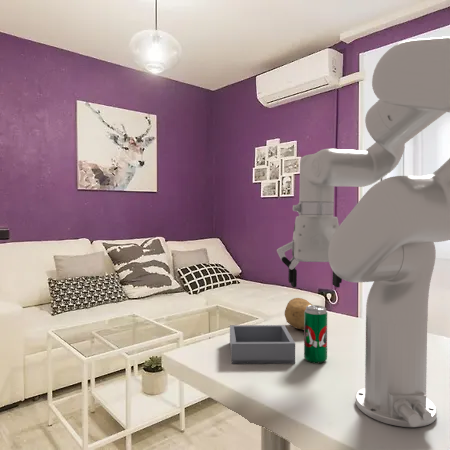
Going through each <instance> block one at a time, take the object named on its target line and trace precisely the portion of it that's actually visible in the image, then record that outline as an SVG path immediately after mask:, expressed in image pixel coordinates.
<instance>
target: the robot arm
mask: <svg viewBox="0 0 450 450" xmlns="http://www.w3.org/2000/svg"><path fill="white" fill-rule="evenodd" d="M371 86H372V90H373V93H374V95H375V96H376V98H377V99H378V100H377V102H375V103H374V104H373V105H372V106H371V107H370V108H369V109H368V110H367V113H366V115H365V119H364V121H365V127H366V130H367V132H368V134H369V135H370V137H371V139H372V140H373V141H375V142H374V143H373V144H372V145H370V147H368V148H366V149H364V150H359V149H357V150H356V149H343V148H342V149H340V148H339V149H337V148H324V149H321V150H319V151H317V152H316V153H313V154H312V153H311V154H306V155H304V156H303V155H302V157H301V159H300V161H299V198H298V200H299V202H298V203H297V204H292V211H293V212H297V213H298V216H295V220H294V227H293V234H292V240H291V241H290V242H287V243H286V244H284V245H282V246H280V247H279V248H277V249H276V252H277V253H276V254H278V257H279V259H280V261H281V262H282V263H283V264H284V265H285V266H286V267H287V268H288V277H287V278H288V280H287V281H288V283H289V284H290V286H291V287H292V288H296V287H297V283H298V282H297V281H298V280H297V276H298V275H297V274H298V271H297V268H296V267H297V266H298V264H300V262H305V263H306V262H307V263H311V262H312V263H328V264H329V266H330V268H331V270H332V285H333V286H334V287H336V288H340V286H341V285H340V284H342V281H343V280H344V281H345V282H349V283H371V282H373V283H372V285H371V288H370V289H369V292H368V295H367V298H366V305H365V307H366V308H365V354H364V355H365V361H364V362H365V364H364V366H365V369H364V370H365V374H364V375H365V376H364V378H365V379H364V382H365V383H364V384H365V385H364V387H362V388H360V389H359V390H358V391H357V392H356V393H355V404H356V406H357V408H358V409H359V410H360V411H361V412H362V413H363V414H365V415H366V416H367V417H370V418H371V419H374V420H375V421H378V422H381V423H384V424H387V425H392V426H396V427H402V428H403V427H404V428H420V427H426V426H428V425H430V424H433V423H434V422H435V421H436V419H437V415H438V414H437V412H438V411H437V407H436V405H435V404H434V403H433V401H431V400H430V399H429V398H428V397H427V370H428V369H427V365H428V359H427V358H428V321H429V319H428V318H429V317H428V315H429V298H430V297H429V296H430V295H429V293H430V286H431V282H432V281H431V280H432V276H433V273H434V268H435V264H436V246H435V245H436V244H435V243H440V242H447V241H450V157H449V158H448V159H447V160H446V161H445V162H444V163H443V164H442V165H440V167H439V168H438V169H436V170H434V172H433V173H431V174H430V173H429V174H426V175H396V176H390V177H387V178H384V177H385V176H387V175H388V174H390V173H391V172H392V171H394V170H395V168H397V166H398V165H399V163H400V161H401V160H402V157H403V155H404V152H405V145H406V144H407V143H408V142H409V141H410V140H411V139H413V138H414V137H417V135H418V134H419V133H421V132H422V131H423V130H425V129H427V127H429V126H430V125H431V124H433V123H434V122H435V121H437V120H438V119H440V118H441V117H443V115H444V114H446V113H450V36H442V37H430V38H429V37H428V38H417V39H409V40H404V41H402V42H399V43H397V44H395V45H393V46H391V47H390V48H389V49H388V50H387V51H386V52H385V53H384V54H383V55H382V56H381V58H379V60H378V61H377V63H376V66H375V68H374V70H373V74H372V79H371ZM382 178H384V179H382ZM378 181H379V182H378ZM375 183H376V184H375ZM372 184H374V185H372ZM371 185H372V187H370V188H369V189H368V190H367V192H365V194H363V195H362V197H361V198H360V199H359V201H358V202H357V203H356V205H355V206H354V207H353V208H352V210H351V211H350V212H349V213H348V214H347V215H346V217H345V218H344V219H343V221H342V222H341V223H340V225H339V219H338V216H334V214H335V213H334V209H335V208H334V207H335V187H349V188H350V187H353V188H354V187H356V188H357V187H358V188H364V187H367V186H371ZM290 250H291V255H292V258H291V259H288V258H287V256H286V252H288V251H290Z"/></svg>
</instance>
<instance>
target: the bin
mask: <svg viewBox="0 0 450 450" xmlns="http://www.w3.org/2000/svg"><path fill="white" fill-rule="evenodd" d="M229 348H230V359H231V364H232V365H253V364H254V365H262V364H263V365H267V364H268V365H270V364H271V365H275V364H276V365H279V364H280V365H281V364H283V365H285V364H286V365H289V364H290V365H291V364H292V365H293V364H296V341H295V340H294V339H293V337H292V336H291V333H290V332H289V330H288V328H287V327H286V325H285V324H266V325H265V324H259V325H257V324H254V325H253V324H252V325H251V324H250V325H249V324H248V325H247V324H246V325H245V324H244V325H242V324H241V325H238V324H235V325H232V324H231V325H229Z"/></svg>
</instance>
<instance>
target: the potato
mask: <svg viewBox="0 0 450 450" xmlns="http://www.w3.org/2000/svg"><path fill="white" fill-rule="evenodd" d="M310 305H313V304H312V303H310V302H309V301H308V300H307V299H305V298H303V297H302V298H301V297H294V298H292V299H290V300H289V301H288V302H287V304H286V305H285V309H284V318H285V320H286V323H288V324H289V325H290V326H291V327H293V328H294V329H298V330H303V331H304V311H305V310H306V307H307V306H310Z"/></svg>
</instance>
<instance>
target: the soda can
mask: <svg viewBox="0 0 450 450" xmlns="http://www.w3.org/2000/svg"><path fill="white" fill-rule="evenodd" d="M303 332H304V333H303V334H304V335H303V340H304V342H303V357H304V359H305V361H307V362H308V363H311V364H323V363H324V362H326V361H327V360H328V311H327V308H326V307H325V306H323V305H316V304H312V305H310V306H307V307H306V310H305V311H304V330H303Z"/></svg>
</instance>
